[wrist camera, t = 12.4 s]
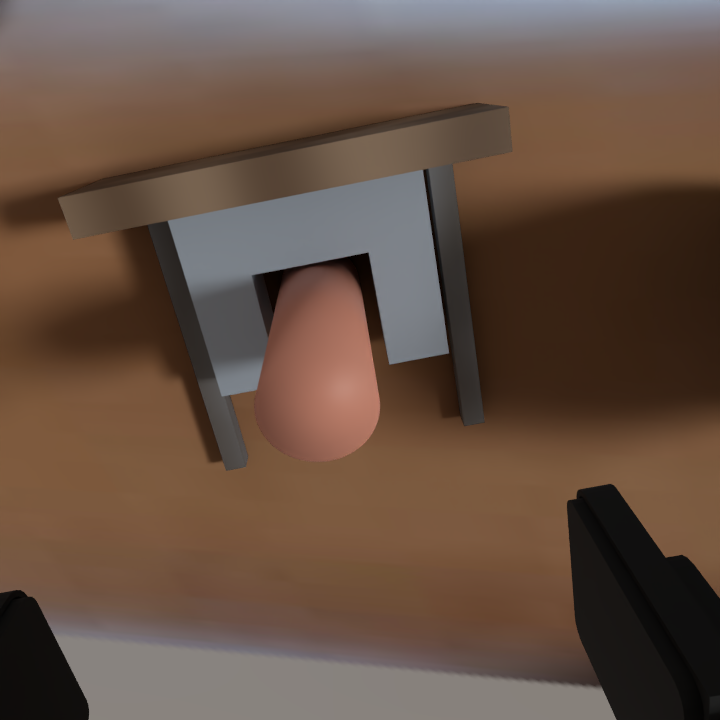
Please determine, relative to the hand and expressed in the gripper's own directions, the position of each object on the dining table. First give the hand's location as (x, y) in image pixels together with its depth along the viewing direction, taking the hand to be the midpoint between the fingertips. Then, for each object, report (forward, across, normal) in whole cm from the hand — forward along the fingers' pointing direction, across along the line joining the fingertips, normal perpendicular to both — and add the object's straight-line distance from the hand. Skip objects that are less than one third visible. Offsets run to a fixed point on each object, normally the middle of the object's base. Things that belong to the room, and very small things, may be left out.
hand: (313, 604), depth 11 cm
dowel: (+20, 0, 0) cm, 20 cm away
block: (+20, 0, -1) cm, 20 cm away
